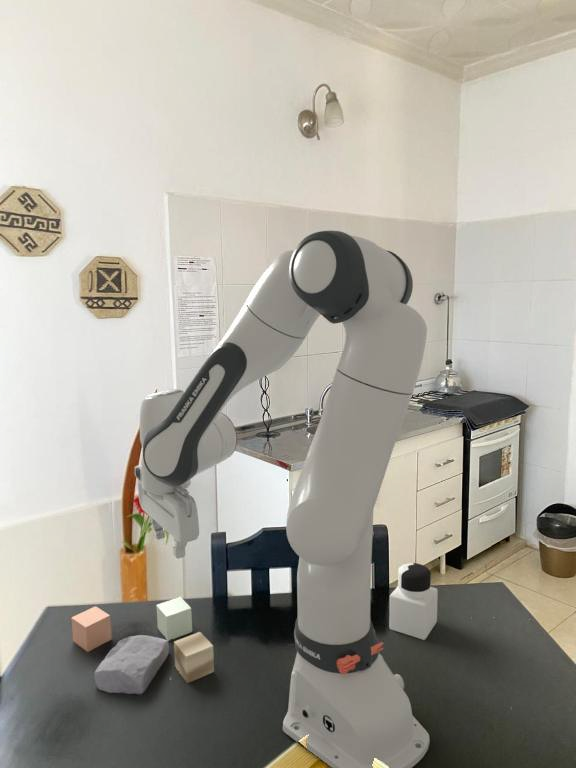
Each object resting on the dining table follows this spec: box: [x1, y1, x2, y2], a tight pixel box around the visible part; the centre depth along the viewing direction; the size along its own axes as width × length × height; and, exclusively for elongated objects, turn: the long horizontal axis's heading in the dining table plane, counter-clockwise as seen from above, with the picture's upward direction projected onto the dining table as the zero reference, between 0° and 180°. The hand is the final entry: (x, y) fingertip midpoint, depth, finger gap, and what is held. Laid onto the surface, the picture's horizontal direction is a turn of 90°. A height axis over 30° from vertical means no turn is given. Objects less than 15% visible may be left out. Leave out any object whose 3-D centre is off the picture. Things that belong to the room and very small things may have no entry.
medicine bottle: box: [389, 562, 439, 641], centre depth 110 cm, size 7×7×12 cm
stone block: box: [93, 634, 170, 695], centre depth 100 cm, size 12×5×10 cm
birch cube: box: [173, 631, 215, 684], centre depth 99 cm, size 5×5×5 cm
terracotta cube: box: [70, 606, 113, 653], centre depth 108 cm, size 5×5×5 cm
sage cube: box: [155, 596, 193, 642], centre depth 111 cm, size 5×5×5 cm
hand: (168, 546), depth 109 cm, fingers open, 8 cm apart
